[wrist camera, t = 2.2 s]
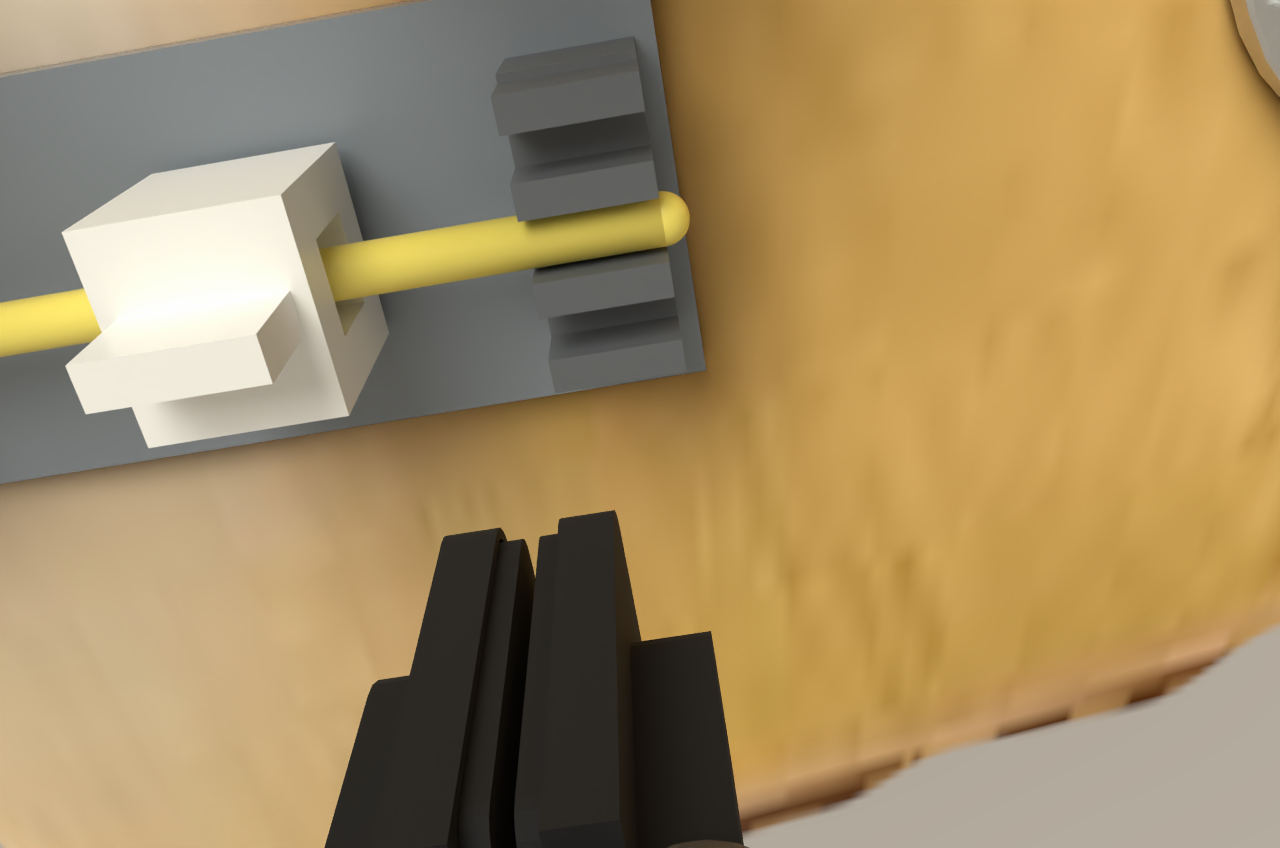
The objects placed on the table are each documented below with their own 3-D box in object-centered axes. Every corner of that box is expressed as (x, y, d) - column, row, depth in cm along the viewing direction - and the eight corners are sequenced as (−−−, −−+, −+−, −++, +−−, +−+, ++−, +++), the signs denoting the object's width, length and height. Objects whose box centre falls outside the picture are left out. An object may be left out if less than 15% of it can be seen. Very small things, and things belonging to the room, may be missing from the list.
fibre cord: (684, 180, 25) (687, 194, 24) (692, 232, 25) (695, 249, 24) (-298, 347, 26) (-337, 367, 25) (-272, 393, 26) (-309, 416, 25)
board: (643, -42, 26) (649, -25, 22) (702, 352, 30) (719, 435, 26) (-414, 148, 27) (-615, 201, 23) (-211, 500, 32) (-347, 603, 27)
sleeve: (335, 142, 26) (244, 229, 20) (389, 333, 28) (323, 469, 22) (151, 173, 26) (1, 271, 20) (218, 361, 28) (102, 504, 22)
